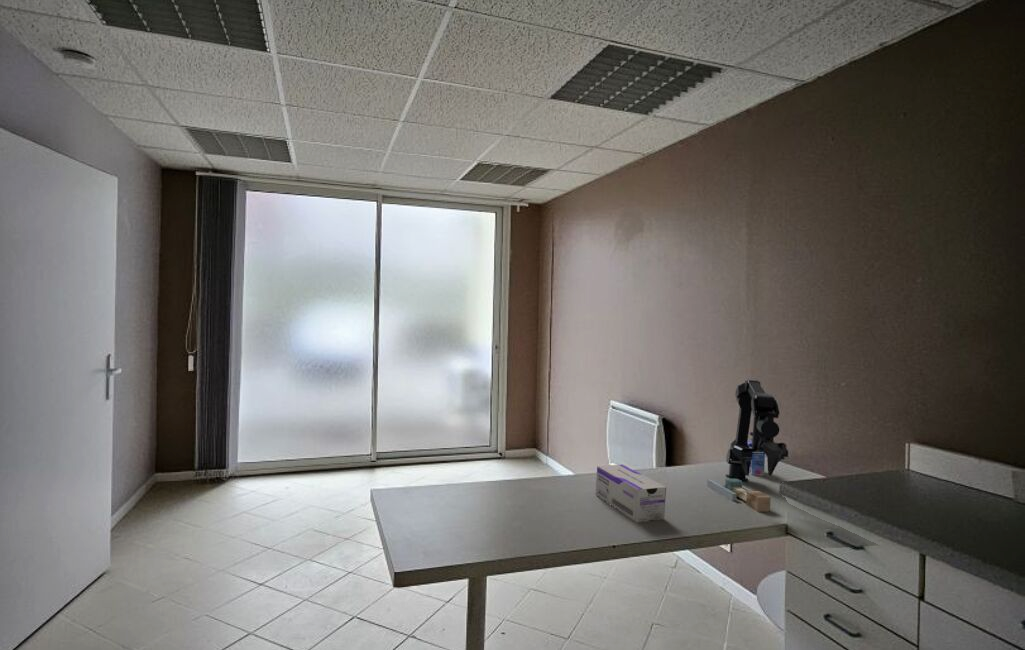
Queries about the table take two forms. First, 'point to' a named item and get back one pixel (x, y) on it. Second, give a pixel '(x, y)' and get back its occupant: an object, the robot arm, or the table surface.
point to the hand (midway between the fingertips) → (758, 475)
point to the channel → (724, 490)
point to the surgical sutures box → (631, 492)
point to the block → (758, 501)
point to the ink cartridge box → (757, 463)
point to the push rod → (736, 487)
